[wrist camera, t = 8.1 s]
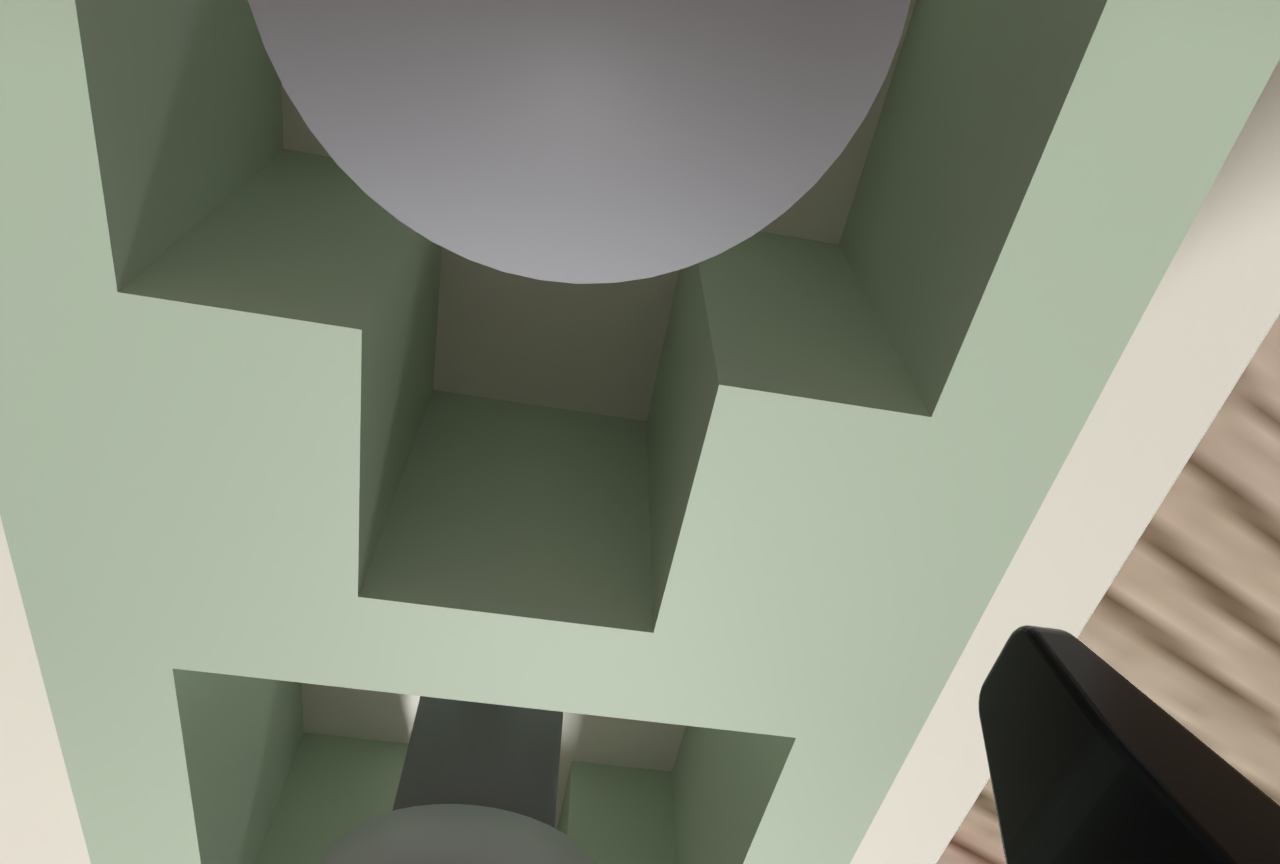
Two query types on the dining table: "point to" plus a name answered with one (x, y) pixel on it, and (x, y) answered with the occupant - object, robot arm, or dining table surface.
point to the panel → (554, 433)
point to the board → (634, 336)
